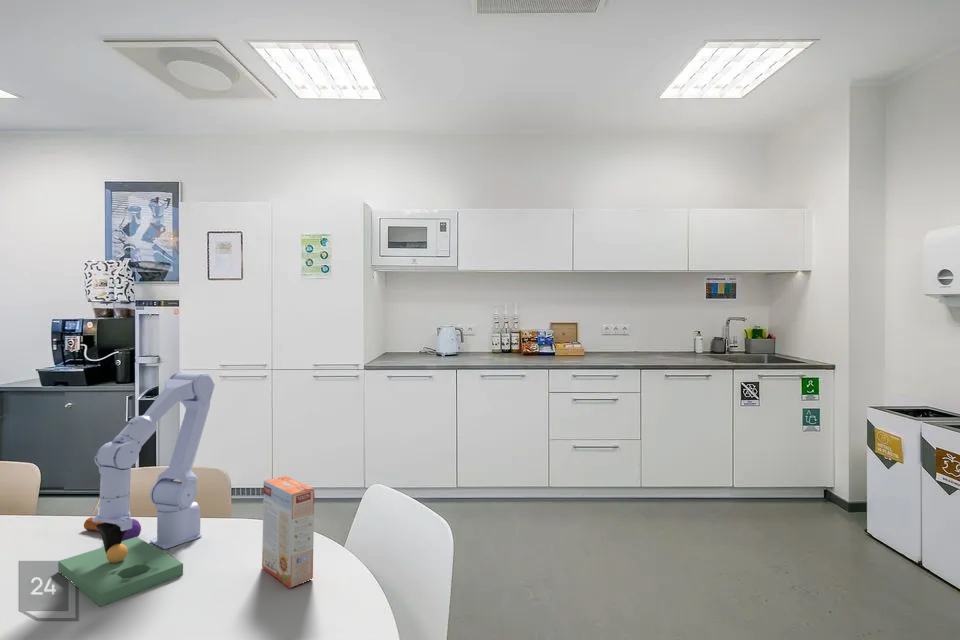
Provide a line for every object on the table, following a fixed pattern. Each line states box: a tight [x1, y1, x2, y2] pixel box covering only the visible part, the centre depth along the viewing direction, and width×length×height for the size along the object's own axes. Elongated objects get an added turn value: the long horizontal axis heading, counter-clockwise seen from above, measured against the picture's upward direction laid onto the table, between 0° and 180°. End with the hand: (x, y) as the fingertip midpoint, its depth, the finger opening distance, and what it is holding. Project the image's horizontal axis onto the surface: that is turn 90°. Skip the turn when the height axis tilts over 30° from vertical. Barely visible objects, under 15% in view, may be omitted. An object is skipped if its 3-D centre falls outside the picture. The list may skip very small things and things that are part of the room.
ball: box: [106, 544, 128, 563], centre depth 116 cm, size 4×4×4 cm
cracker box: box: [261, 475, 315, 589], centre depth 117 cm, size 14×6×21 cm, turn 47°
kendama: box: [83, 516, 142, 541], centre depth 135 cm, size 6×6×20 cm
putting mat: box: [57, 536, 184, 607], centre depth 116 cm, size 16×24×2 cm, turn 56°
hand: (112, 553), depth 117 cm, fingers closed, pressing on ball
